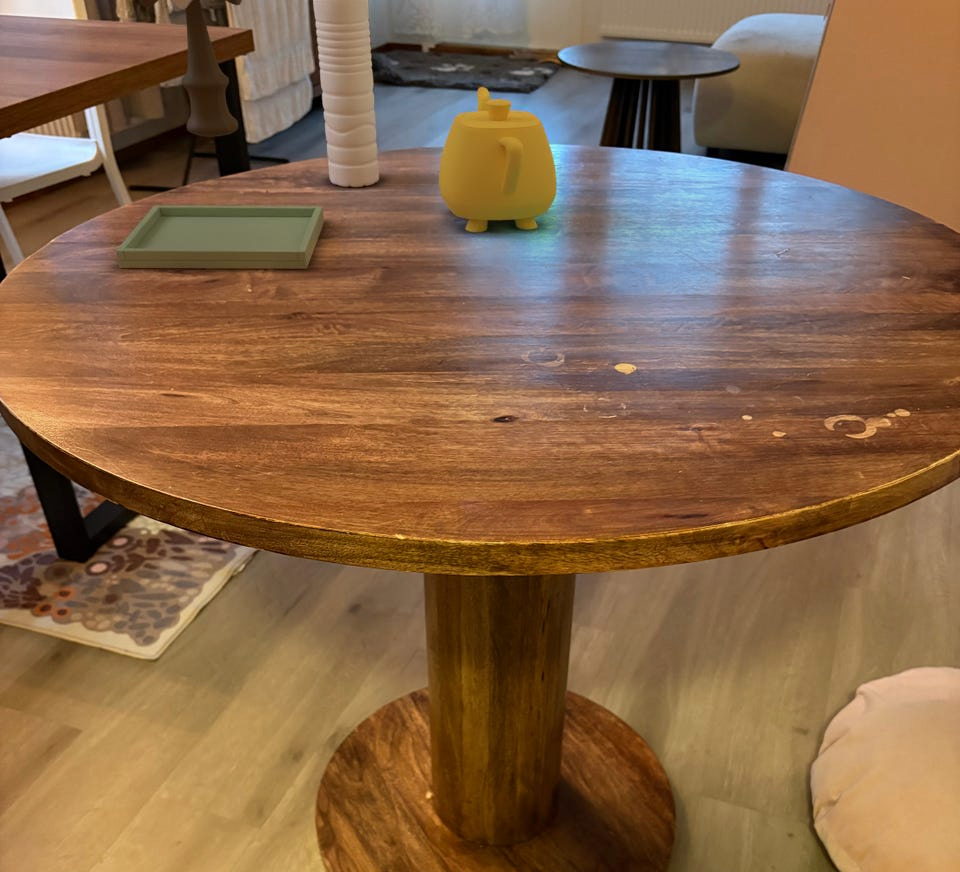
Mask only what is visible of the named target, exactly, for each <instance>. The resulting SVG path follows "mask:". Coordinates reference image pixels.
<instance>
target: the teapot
mask: <svg viewBox="0 0 960 872" xmlns="http://www.w3.org/2000/svg"><path fill="white" fill-rule="evenodd" d="M476 92H477V93H476V94H477V109H476V111H467V112H466V111H465V112H460V113H458V114H457V115H456V116H455V117H454V118H453V121H452V124H451V126H450V128H449V131H448V134H447V137H446V139H445V143H444V146H443V149H442V153H441V156H440V157H441V158H440V162H439V163H440V164H439V172H438V173H439V174H438V188H439V192H440V195H441V197H442V199H443V201H444V202H445V204H446V206H447V208H448V209H449V210H450V211H451V213H452V214H453V215H454V216H457V217H459V218H462V219H466V220H468V221H467V223H466V225H465V230H466V231H467V232H471V233H483V232H486V231H487V229H488V224H489V223H488V222H489V221H509V220H514V222H515V227H516V228H518V229H519V230H535V229H537V228H538V224H537V222H536V220H535V218H534V217H539V216H542V215H544V214H546V213H547V212H548V211H549V209H550V208H551V207H552V205H553V202H554V201H555V198H556V196H557V183H558V182H557V172H556V165H555V159H554V156H553V152H552V148H551V145H550V142H549V139H548V135H547V133H546V130H545V128H544V125H543V122H542V121H541V119H540V118H538V117H537V115H535V114H534V113H532V112H530V111H526V110H525V111H523V110H511V109H512V101H510V100H508V99H504V98H503V99H501V98H495V99H491V94H490V91H489V90H488V88H486V87H484V86H480V87H478V89H477V91H476Z"/></svg>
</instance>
